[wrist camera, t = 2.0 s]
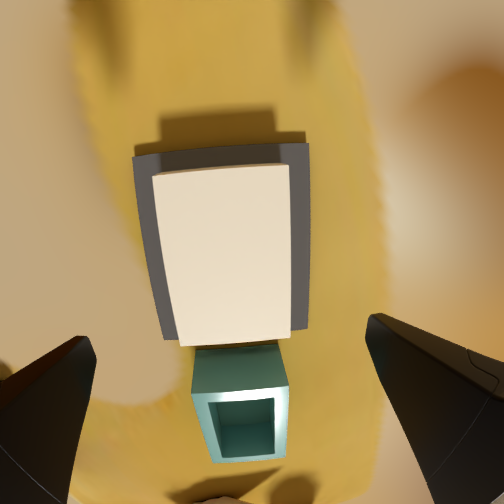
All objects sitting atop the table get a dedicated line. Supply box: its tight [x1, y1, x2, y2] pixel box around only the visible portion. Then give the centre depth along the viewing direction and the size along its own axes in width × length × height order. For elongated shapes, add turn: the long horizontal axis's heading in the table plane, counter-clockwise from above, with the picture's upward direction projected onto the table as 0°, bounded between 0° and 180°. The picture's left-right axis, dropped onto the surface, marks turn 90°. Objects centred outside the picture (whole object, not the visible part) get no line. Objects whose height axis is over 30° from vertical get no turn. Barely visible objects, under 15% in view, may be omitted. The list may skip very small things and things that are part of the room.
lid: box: [152, 163, 291, 346], centre depth 15 cm, size 6×9×2 cm, turn 3°
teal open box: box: [191, 344, 289, 463], centre depth 18 cm, size 5×8×4 cm, turn 3°
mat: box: [132, 143, 310, 340], centre depth 16 cm, size 9×11×1 cm
